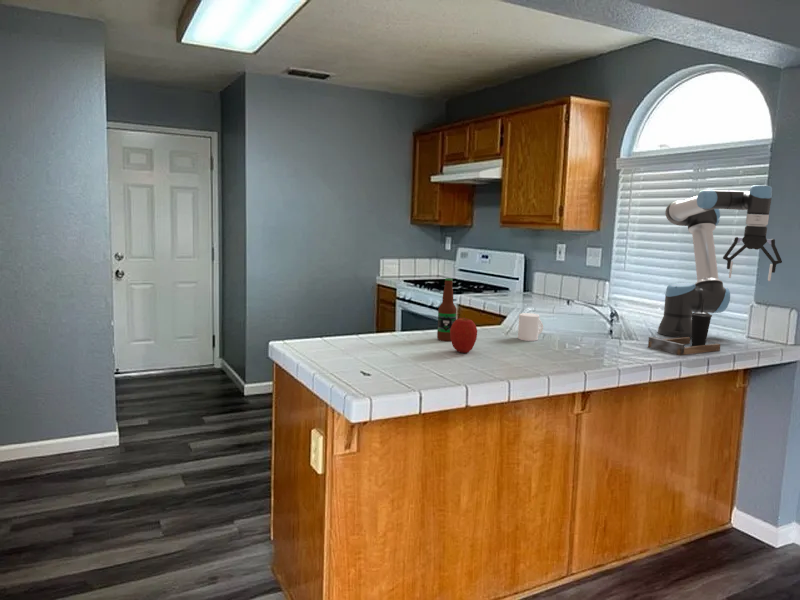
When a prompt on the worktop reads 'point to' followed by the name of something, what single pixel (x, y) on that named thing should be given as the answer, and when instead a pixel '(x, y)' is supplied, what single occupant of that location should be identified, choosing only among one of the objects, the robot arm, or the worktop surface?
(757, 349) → the worktop surface
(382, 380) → the worktop surface
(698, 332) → the drinking cup
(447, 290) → the bottle
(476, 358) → the worktop surface
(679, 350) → the channel
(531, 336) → the mug
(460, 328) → the apple
